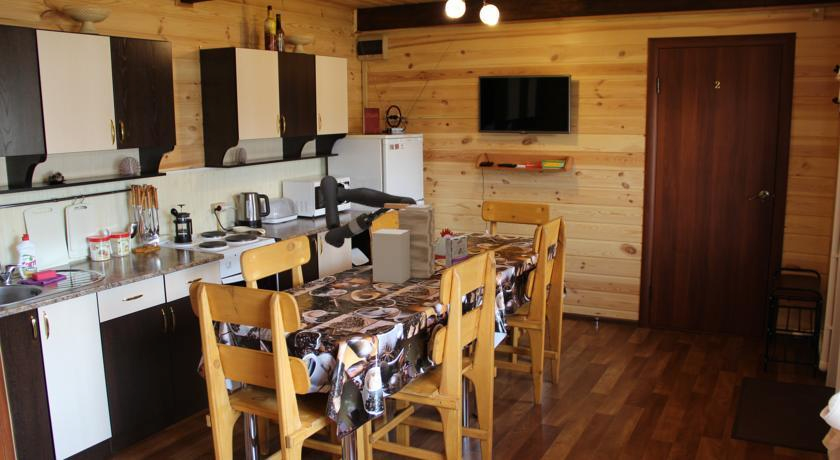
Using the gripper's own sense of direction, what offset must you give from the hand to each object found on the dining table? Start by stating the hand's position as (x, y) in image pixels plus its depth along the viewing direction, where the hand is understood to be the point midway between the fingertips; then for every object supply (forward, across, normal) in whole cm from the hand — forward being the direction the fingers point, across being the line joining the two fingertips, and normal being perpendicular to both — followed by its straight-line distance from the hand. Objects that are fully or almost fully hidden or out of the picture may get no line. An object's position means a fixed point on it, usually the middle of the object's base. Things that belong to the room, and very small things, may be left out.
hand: (386, 208), depth 358 cm
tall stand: (-3, 0, +35) cm, 35 cm away
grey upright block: (-10, -13, +31) cm, 35 cm away
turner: (+10, 0, +5) cm, 11 cm away
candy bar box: (+10, +16, +43) cm, 47 cm away
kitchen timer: (-3, +47, +35) cm, 59 cm away
